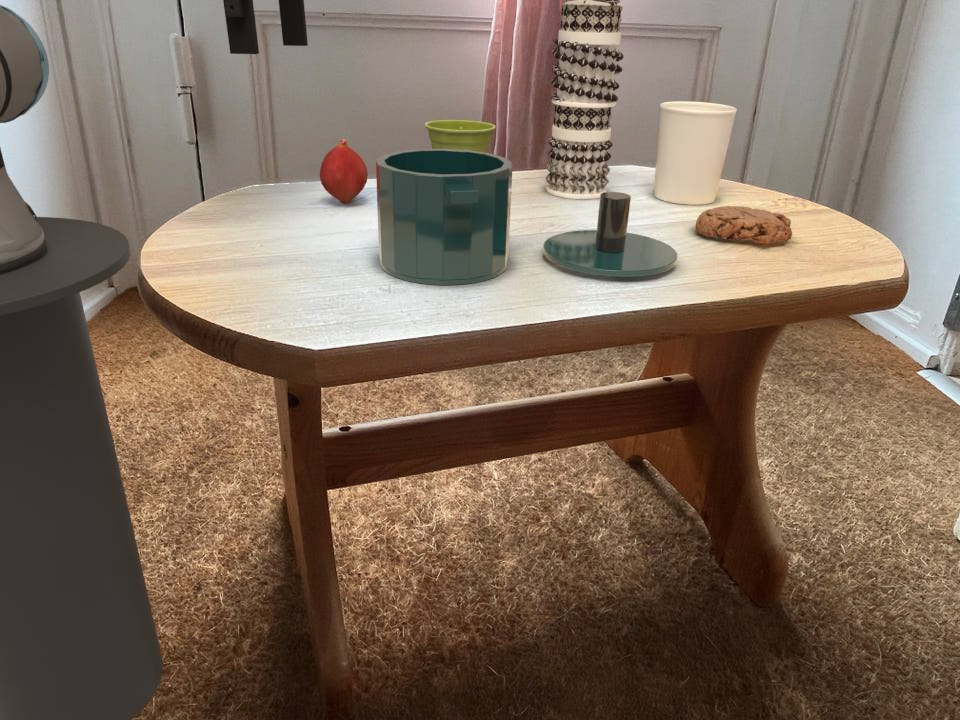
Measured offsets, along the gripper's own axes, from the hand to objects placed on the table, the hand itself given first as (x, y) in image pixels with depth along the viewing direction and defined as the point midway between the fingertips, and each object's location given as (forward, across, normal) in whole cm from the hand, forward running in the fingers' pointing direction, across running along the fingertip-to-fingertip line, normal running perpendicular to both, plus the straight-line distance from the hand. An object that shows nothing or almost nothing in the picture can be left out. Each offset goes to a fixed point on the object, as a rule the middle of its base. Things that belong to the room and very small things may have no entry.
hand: (272, 49), depth 80 cm
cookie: (+20, +4, -53) cm, 57 cm away
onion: (+18, +6, -5) cm, 20 cm away
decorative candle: (+19, +21, -33) cm, 44 cm away
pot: (+18, -13, -21) cm, 31 cm away
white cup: (+20, +22, -48) cm, 56 cm away
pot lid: (+18, -8, -38) cm, 43 cm away
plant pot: (+19, +18, -17) cm, 31 cm away
